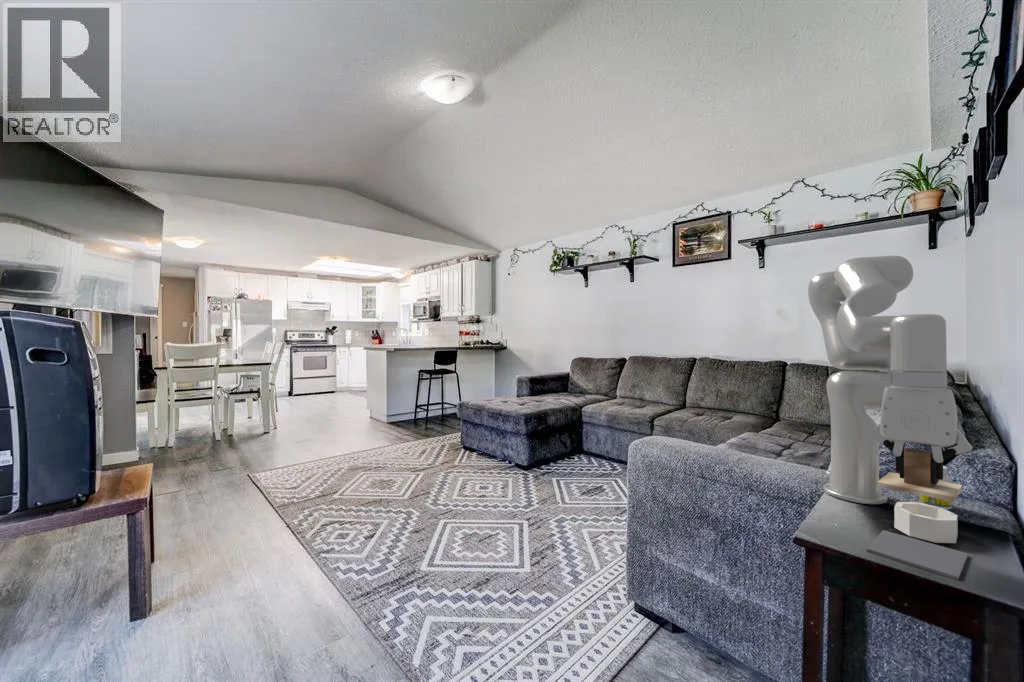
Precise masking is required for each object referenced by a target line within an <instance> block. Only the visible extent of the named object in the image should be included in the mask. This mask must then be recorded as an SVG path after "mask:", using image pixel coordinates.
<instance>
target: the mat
mask: <svg viewBox="0 0 1024 682" xmlns="http://www.w3.org/2000/svg"><path fill="white" fill-rule="evenodd" d="M866 552H869V553H872V554H874V555H878V556H882V557H885V558H887V559H891V560H894V561H896V562H900V563H904V564H906V565H910V566H913V567H915V568H919V569H922V570H925V571H929V572H932V573H935V574H937V575H941V576H944V577H948V578H950V579H954V580H957V581H959V580H960V577H961V575H962V572H963V570H964V569H965V565H966V562H967V560H968V558H969V553H968V552H964V551H959V550H957V549H952V548H949V547H946V546H944V545H938V544H935V543H933V542H932V543H931V542H929V541H928V542H927V541H926V540H922V539H918V538H915V537H911V536H908V535H907V536H906V535H903V534H899V533H895V532H892V531H887V530H885V529H882V531H881V532H880V533H879V534H878V535H877V536H876V537H875V539H873V541H872V542H871V543H870V544H869V545H868V547H867V548H866Z"/></svg>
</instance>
